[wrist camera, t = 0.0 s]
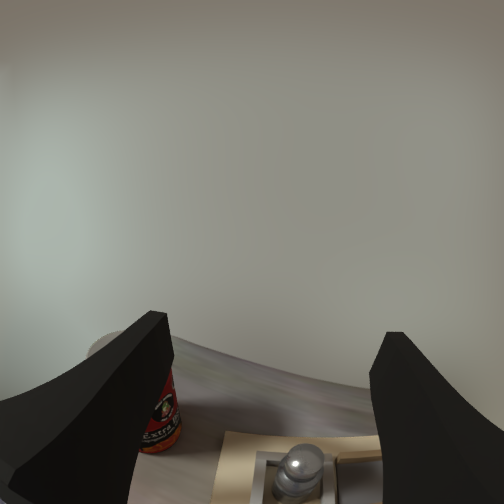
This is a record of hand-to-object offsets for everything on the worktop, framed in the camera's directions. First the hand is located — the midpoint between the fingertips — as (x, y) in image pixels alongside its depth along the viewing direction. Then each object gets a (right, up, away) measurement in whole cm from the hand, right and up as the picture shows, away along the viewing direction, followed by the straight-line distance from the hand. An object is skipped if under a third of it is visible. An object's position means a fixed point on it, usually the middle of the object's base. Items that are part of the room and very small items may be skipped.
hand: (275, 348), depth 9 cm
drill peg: (+3, -18, +11) cm, 21 cm away
